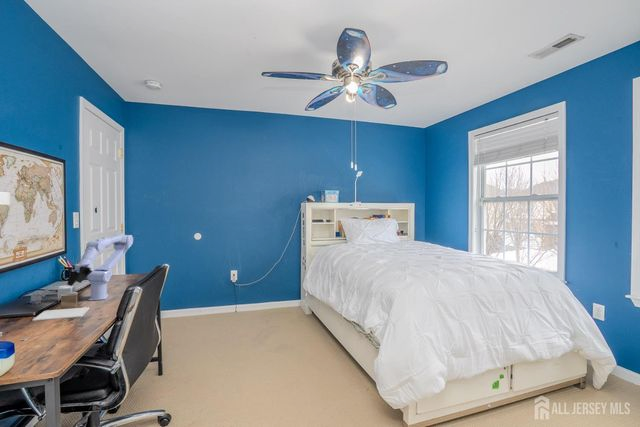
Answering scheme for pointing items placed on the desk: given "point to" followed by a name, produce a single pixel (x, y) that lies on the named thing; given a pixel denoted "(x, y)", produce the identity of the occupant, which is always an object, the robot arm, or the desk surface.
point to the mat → (61, 314)
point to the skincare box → (65, 290)
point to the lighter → (39, 297)
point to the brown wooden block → (69, 300)
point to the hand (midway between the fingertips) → (73, 283)
